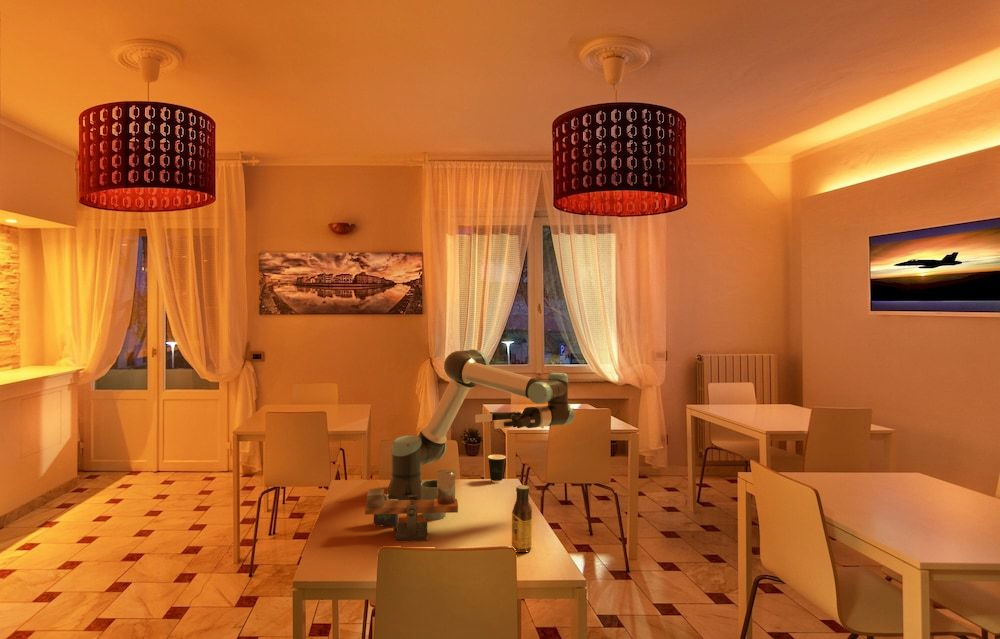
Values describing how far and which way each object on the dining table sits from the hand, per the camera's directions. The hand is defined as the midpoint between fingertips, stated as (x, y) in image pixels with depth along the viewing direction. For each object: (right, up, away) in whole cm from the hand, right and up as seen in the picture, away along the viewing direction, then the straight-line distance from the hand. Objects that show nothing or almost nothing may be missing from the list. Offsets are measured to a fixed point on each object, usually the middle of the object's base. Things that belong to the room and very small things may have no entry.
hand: (484, 421), depth 208 cm
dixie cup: (+4, -36, +56) cm, 67 cm away
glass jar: (-13, -26, -7) cm, 30 cm away
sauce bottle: (+12, -36, -22) cm, 44 cm away
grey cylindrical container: (-19, -36, +9) cm, 42 cm away
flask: (-34, -36, 0) cm, 50 cm away
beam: (-24, -28, -9) cm, 38 cm away
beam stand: (-24, -36, -9) cm, 44 cm away
